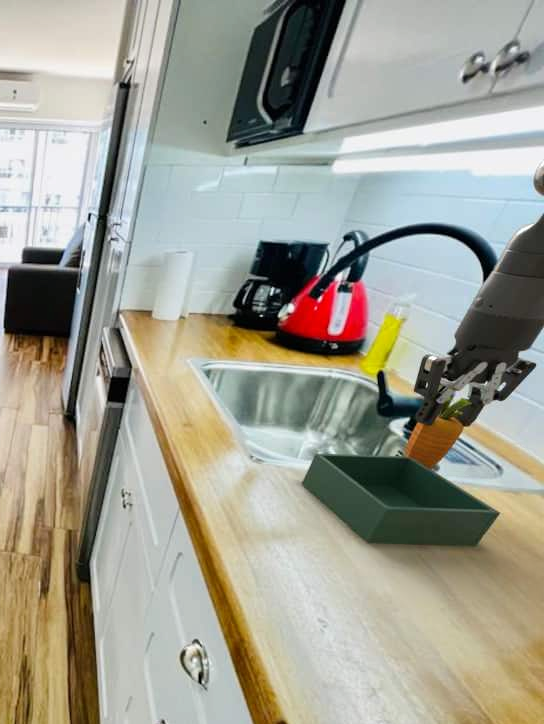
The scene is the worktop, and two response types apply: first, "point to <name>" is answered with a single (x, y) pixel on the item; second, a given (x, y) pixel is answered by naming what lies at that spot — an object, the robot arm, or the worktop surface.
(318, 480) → the dark green tray
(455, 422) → the carrot
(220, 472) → the worktop surface
